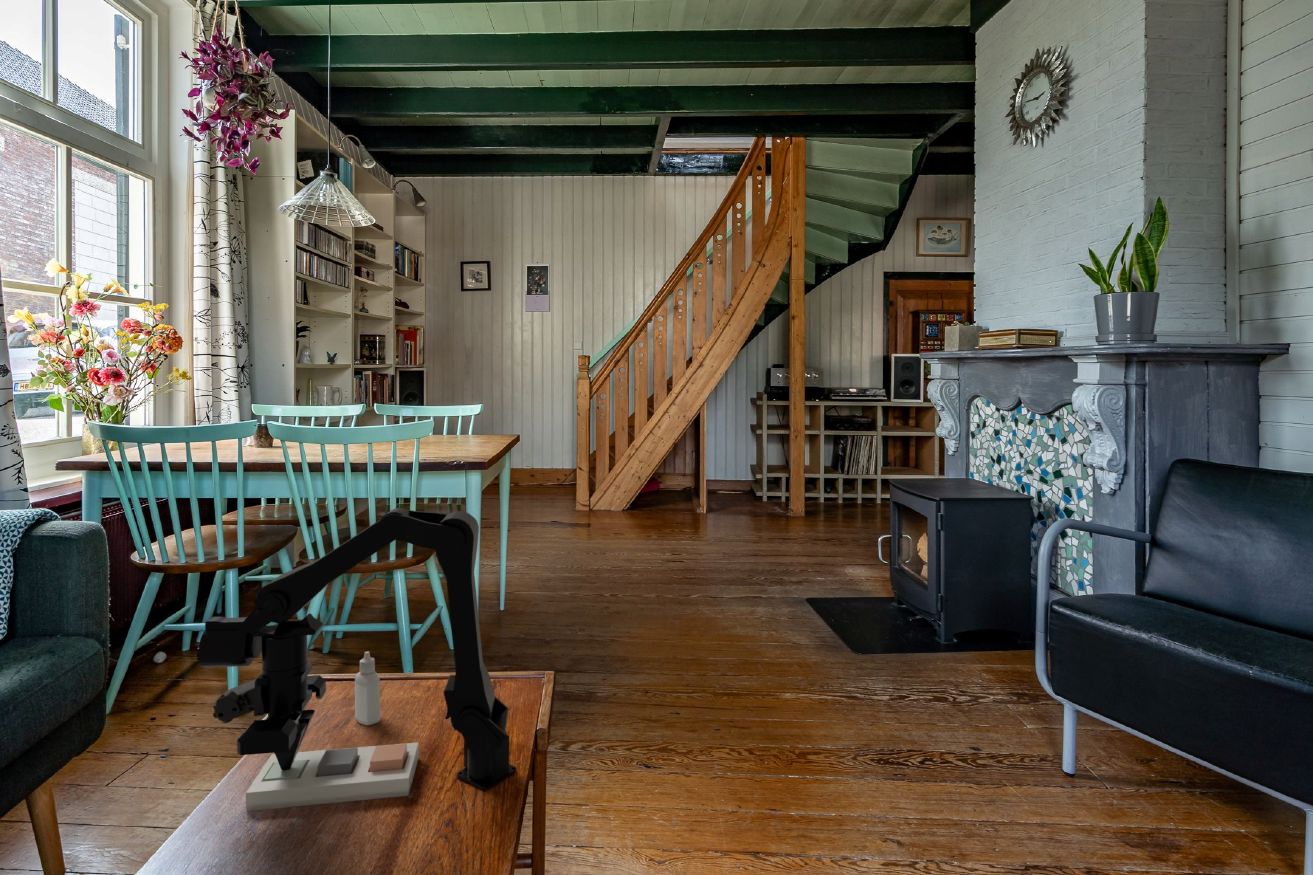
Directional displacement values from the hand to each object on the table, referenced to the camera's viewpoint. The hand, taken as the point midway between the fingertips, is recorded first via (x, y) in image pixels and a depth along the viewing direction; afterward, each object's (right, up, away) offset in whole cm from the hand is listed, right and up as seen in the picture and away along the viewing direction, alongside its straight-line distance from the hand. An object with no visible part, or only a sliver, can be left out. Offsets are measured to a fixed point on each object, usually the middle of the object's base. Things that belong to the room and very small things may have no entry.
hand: (286, 768), depth 98 cm
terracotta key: (+14, -1, +3) cm, 14 cm away
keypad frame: (+7, -3, +2) cm, 8 cm away
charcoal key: (+7, -1, +1) cm, 7 cm away
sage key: (0, -2, 0) cm, 2 cm away
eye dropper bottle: (+3, -2, +21) cm, 21 cm away
